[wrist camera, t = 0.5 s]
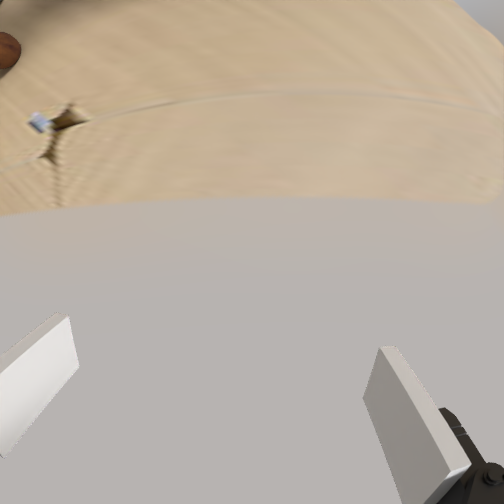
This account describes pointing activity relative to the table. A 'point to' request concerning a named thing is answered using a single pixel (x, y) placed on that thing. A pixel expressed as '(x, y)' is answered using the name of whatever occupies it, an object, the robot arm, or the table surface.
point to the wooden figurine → (8, 50)
